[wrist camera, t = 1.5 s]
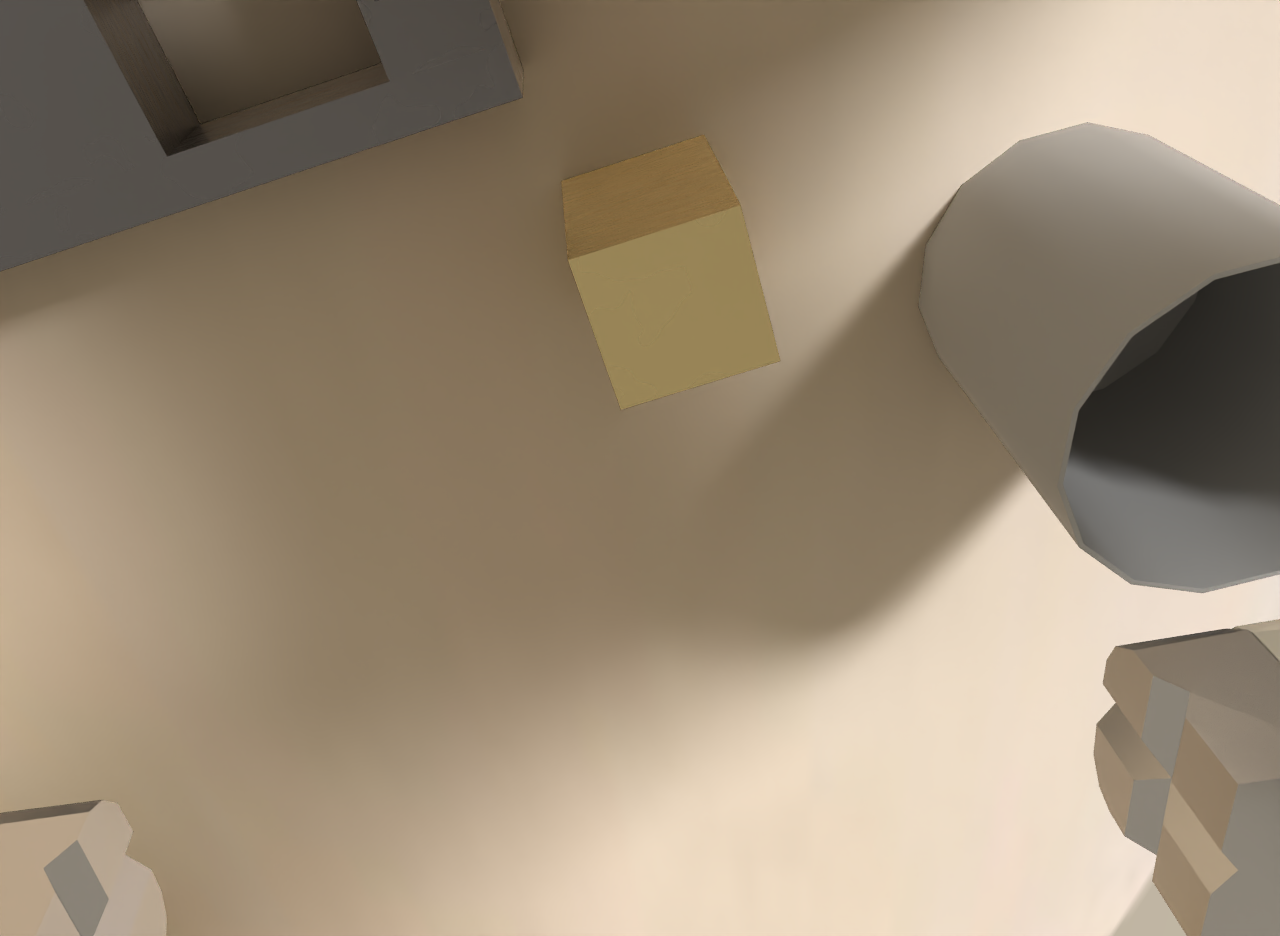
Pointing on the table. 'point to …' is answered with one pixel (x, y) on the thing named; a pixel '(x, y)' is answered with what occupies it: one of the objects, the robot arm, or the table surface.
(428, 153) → the table surface
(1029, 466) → the cup
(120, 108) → the rail
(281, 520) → the table surface
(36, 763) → the table surface
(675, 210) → the block
